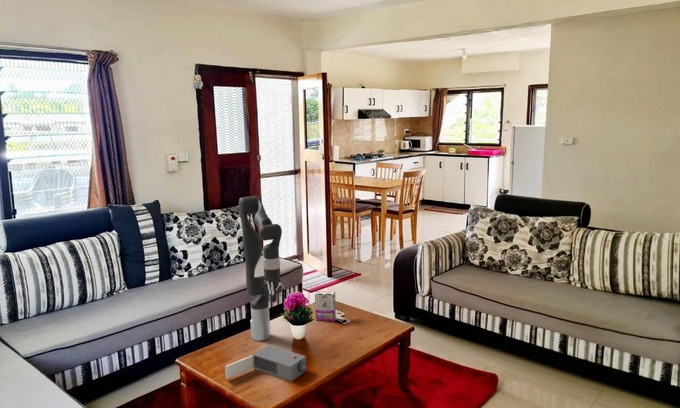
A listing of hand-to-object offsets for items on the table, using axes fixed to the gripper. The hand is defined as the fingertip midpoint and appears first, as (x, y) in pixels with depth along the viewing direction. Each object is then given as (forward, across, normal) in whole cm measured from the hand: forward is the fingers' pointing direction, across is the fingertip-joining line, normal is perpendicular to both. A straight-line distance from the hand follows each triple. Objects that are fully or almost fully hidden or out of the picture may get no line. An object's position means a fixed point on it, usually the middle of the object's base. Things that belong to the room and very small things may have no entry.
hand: (273, 301), depth 227 cm
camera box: (+29, +8, -7) cm, 31 cm away
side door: (+28, -4, -20) cm, 35 cm away
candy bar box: (+29, -5, +50) cm, 58 cm away
